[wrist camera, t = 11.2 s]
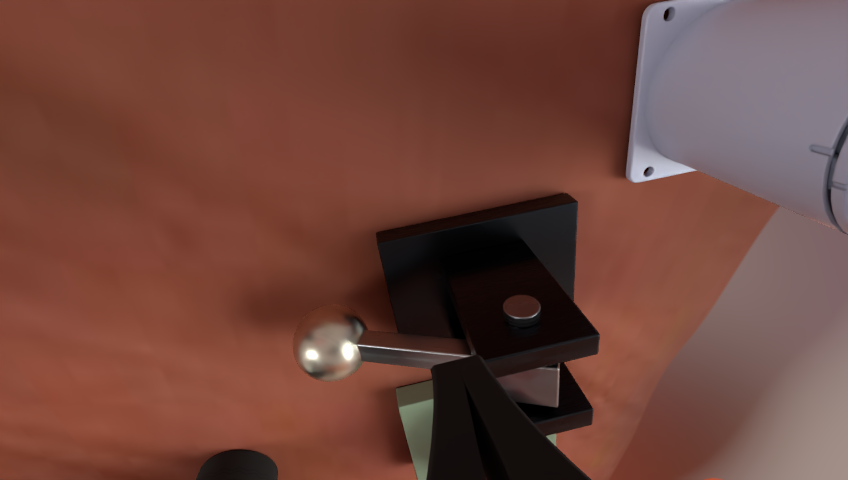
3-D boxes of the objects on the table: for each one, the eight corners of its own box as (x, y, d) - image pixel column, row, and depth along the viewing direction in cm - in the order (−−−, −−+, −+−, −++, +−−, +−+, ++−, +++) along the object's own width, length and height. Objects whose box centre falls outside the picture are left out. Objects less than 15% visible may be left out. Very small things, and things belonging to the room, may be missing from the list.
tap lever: (326, 340, 23) (291, 393, 20) (307, 287, 21) (266, 337, 18) (558, 363, 19) (558, 433, 16) (559, 302, 17) (559, 368, 14)
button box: (547, 351, 26) (573, 395, 23) (547, 430, 30) (569, 476, 27) (395, 388, 26) (402, 437, 22) (415, 463, 29) (423, 514, 26)
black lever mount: (403, 349, 24) (426, 489, 17) (375, 232, 20) (391, 349, 13) (563, 312, 25) (651, 431, 18) (567, 192, 21) (682, 282, 14)
